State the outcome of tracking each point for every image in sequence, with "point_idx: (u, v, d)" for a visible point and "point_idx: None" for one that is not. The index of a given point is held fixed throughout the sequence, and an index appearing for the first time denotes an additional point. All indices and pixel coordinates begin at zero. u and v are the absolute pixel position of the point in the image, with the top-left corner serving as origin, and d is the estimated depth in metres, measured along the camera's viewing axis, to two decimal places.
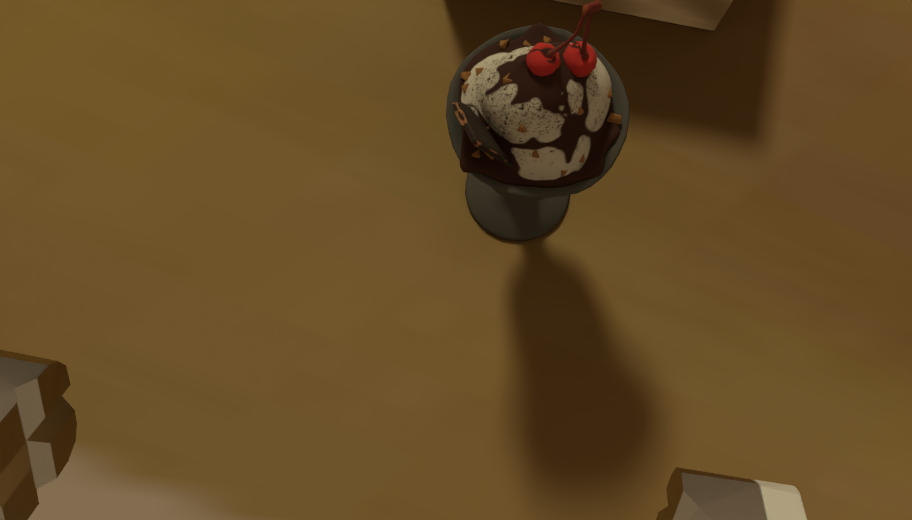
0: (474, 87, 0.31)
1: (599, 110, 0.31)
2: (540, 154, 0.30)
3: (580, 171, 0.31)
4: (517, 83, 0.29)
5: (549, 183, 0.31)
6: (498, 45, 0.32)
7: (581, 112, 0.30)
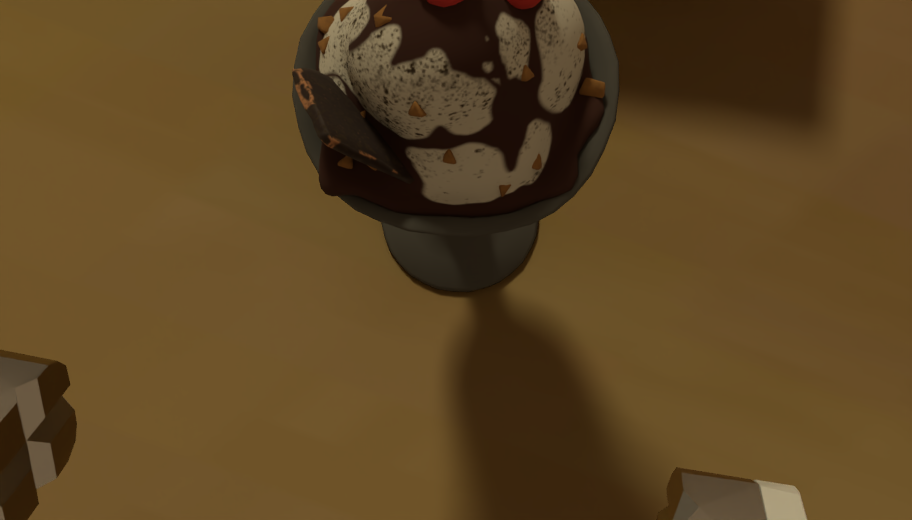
0: (337, 42, 0.17)
1: (563, 72, 0.17)
2: (458, 157, 0.17)
3: (535, 185, 0.17)
4: (401, 23, 0.15)
5: (479, 209, 0.17)
6: None
7: (528, 75, 0.16)
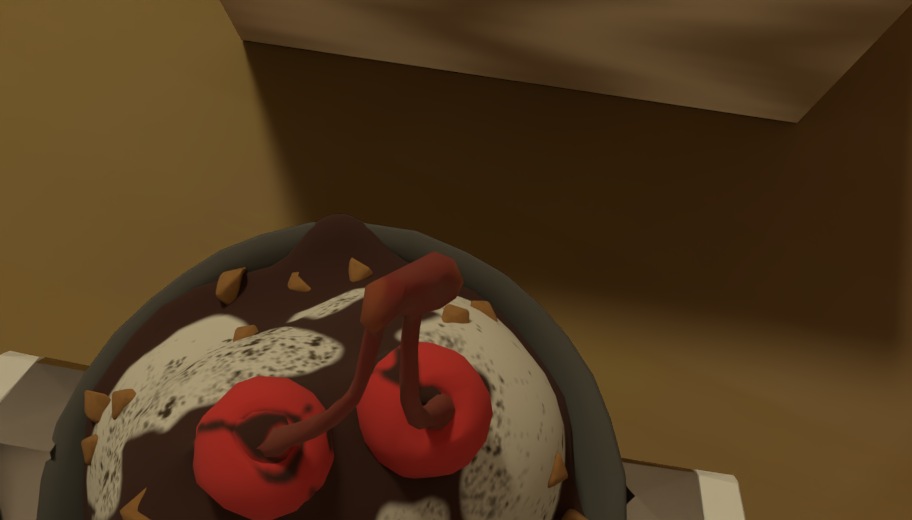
0: (104, 461, 0.09)
1: None
2: None
3: None
4: None
5: None
6: (215, 289, 0.10)
7: None
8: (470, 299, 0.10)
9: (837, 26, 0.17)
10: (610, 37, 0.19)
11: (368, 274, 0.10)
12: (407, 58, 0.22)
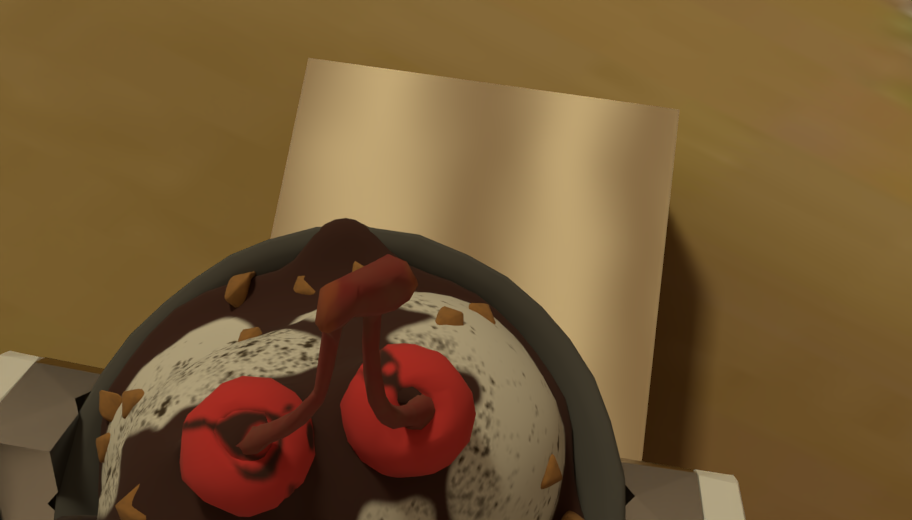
0: None
1: None
2: None
3: None
4: None
5: None
6: (225, 292, 0.11)
7: None
8: (471, 302, 0.10)
9: None
10: None
11: None
12: None
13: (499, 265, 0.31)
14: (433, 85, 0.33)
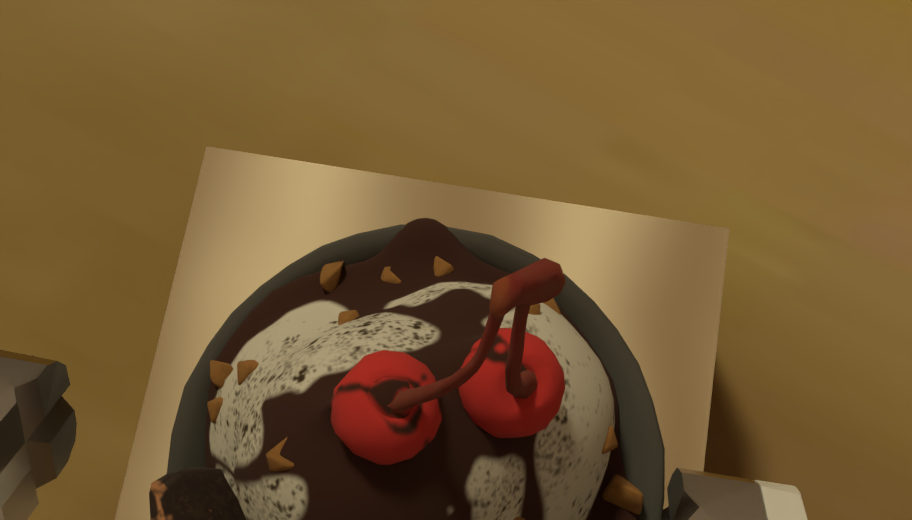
0: (230, 419, 0.11)
1: (578, 497, 0.11)
2: None
3: None
4: (308, 476, 0.09)
5: None
6: (318, 278, 0.12)
7: None
8: None
9: None
10: None
11: (450, 270, 0.12)
12: None
13: None
14: (380, 188, 0.23)
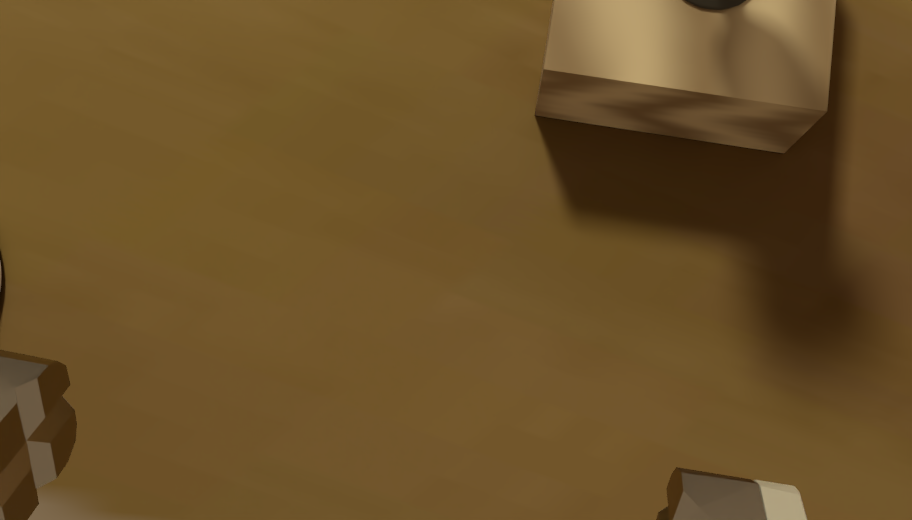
0: None
1: None
2: None
3: None
4: None
5: None
6: None
7: None
8: None
9: (798, 119, 0.44)
10: (706, 120, 0.46)
11: None
12: (611, 124, 0.49)
13: None
14: None
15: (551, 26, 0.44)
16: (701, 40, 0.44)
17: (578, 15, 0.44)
